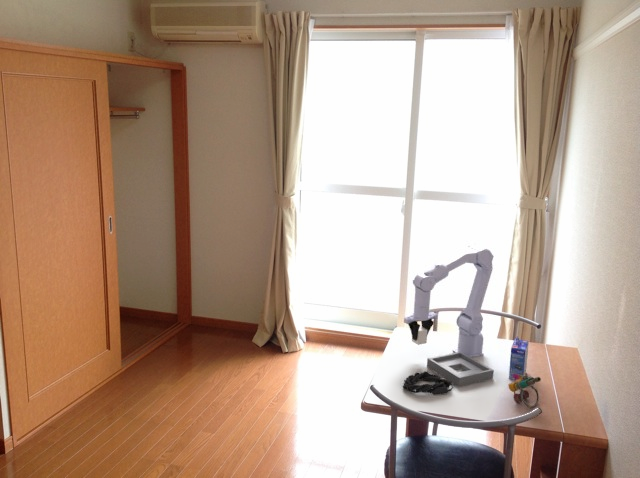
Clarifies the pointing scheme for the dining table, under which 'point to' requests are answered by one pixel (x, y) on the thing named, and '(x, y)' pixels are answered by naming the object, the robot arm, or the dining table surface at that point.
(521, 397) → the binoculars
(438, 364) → the walled box
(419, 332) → the white rectangular block
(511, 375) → the ink cartridge box
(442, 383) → the cable
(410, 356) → the dining table surface
